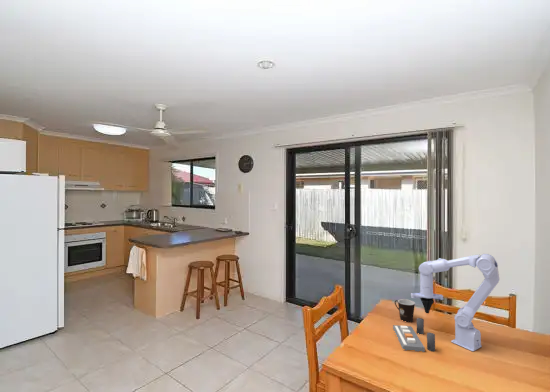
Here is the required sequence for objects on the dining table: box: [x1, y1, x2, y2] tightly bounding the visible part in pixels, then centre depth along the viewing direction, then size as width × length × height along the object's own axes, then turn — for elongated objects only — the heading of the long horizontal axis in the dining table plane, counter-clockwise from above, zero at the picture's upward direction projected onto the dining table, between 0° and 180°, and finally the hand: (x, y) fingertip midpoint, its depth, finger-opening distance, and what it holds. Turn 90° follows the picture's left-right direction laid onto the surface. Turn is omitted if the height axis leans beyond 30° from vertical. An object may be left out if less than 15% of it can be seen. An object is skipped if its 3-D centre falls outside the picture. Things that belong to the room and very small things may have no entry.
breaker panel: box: [392, 324, 426, 353], centre depth 135 cm, size 20×9×3 cm, turn 169°
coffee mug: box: [394, 298, 416, 323], centre depth 157 cm, size 12×9×10 cm
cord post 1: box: [416, 317, 425, 335], centre depth 140 cm, size 3×3×7 cm
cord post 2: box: [426, 332, 436, 353], centre depth 126 cm, size 3×3×7 cm
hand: (426, 312), depth 141 cm, fingers closed
